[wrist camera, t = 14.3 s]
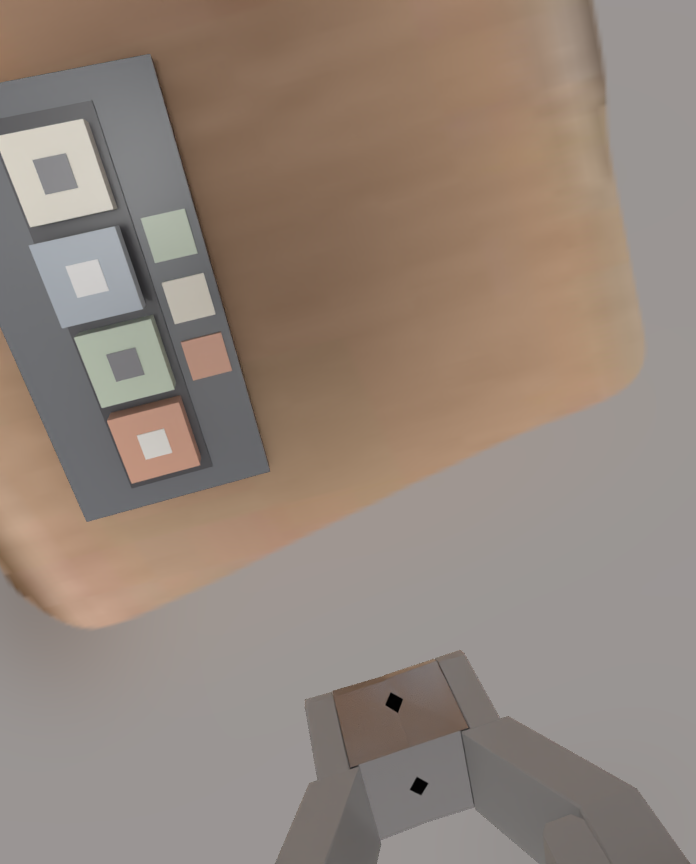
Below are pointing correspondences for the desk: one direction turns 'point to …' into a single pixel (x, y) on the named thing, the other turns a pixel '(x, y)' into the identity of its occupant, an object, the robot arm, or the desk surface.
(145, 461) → the terracotta key
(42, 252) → the slate key
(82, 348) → the sage key
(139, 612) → the desk surface
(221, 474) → the keypad base
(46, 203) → the cream key
